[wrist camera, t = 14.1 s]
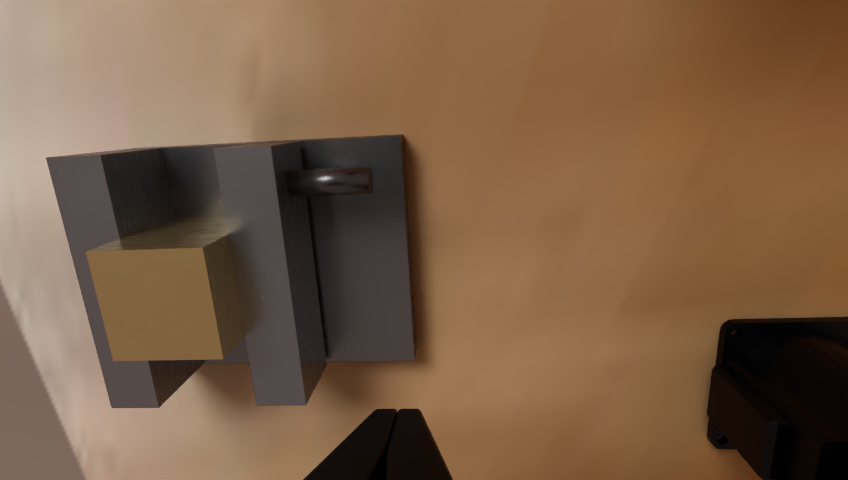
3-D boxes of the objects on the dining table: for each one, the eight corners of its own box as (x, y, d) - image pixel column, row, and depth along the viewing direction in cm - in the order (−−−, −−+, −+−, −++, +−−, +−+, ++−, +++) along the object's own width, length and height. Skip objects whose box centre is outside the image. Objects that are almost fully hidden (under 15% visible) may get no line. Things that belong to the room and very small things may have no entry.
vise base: (402, 134, 20) (387, 140, 15) (416, 347, 22) (407, 405, 18) (134, 148, 20) (45, 157, 16) (177, 351, 23) (111, 407, 19)
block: (264, 215, 20) (202, 247, 15) (277, 302, 21) (223, 359, 16) (174, 218, 20) (85, 251, 15) (192, 304, 21) (113, 361, 16)
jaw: (374, 137, 18) (358, 141, 15) (391, 364, 21) (381, 404, 18) (251, 143, 19) (213, 149, 16) (284, 365, 21) (256, 405, 18)
